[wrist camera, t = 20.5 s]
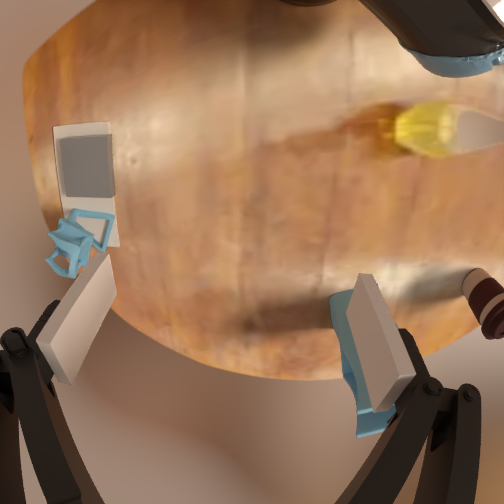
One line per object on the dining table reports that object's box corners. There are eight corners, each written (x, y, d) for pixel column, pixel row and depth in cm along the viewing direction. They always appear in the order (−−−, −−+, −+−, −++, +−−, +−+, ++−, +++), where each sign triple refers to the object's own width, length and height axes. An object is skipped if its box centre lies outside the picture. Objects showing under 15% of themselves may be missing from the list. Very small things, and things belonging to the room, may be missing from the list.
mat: (54, 126, 40) (53, 126, 40) (109, 121, 40) (108, 121, 40) (70, 241, 51) (69, 242, 51) (119, 245, 52) (119, 247, 51)
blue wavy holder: (327, 295, 56) (356, 411, 35) (377, 283, 55) (424, 392, 33) (332, 330, 61) (355, 438, 40) (377, 319, 60) (414, 422, 38)
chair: (76, 196, 46) (37, 228, 36) (115, 215, 48) (82, 252, 38) (69, 232, 50) (34, 267, 40) (106, 250, 52) (76, 291, 41)
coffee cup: (464, 305, 58) (493, 351, 45) (450, 284, 55) (483, 333, 42) (494, 278, 54) (527, 320, 41) (482, 254, 51) (521, 298, 38)
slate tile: (112, 133, 41) (65, 136, 41) (107, 136, 39) (59, 139, 39) (115, 194, 46) (71, 193, 46) (111, 198, 45) (66, 197, 44)
